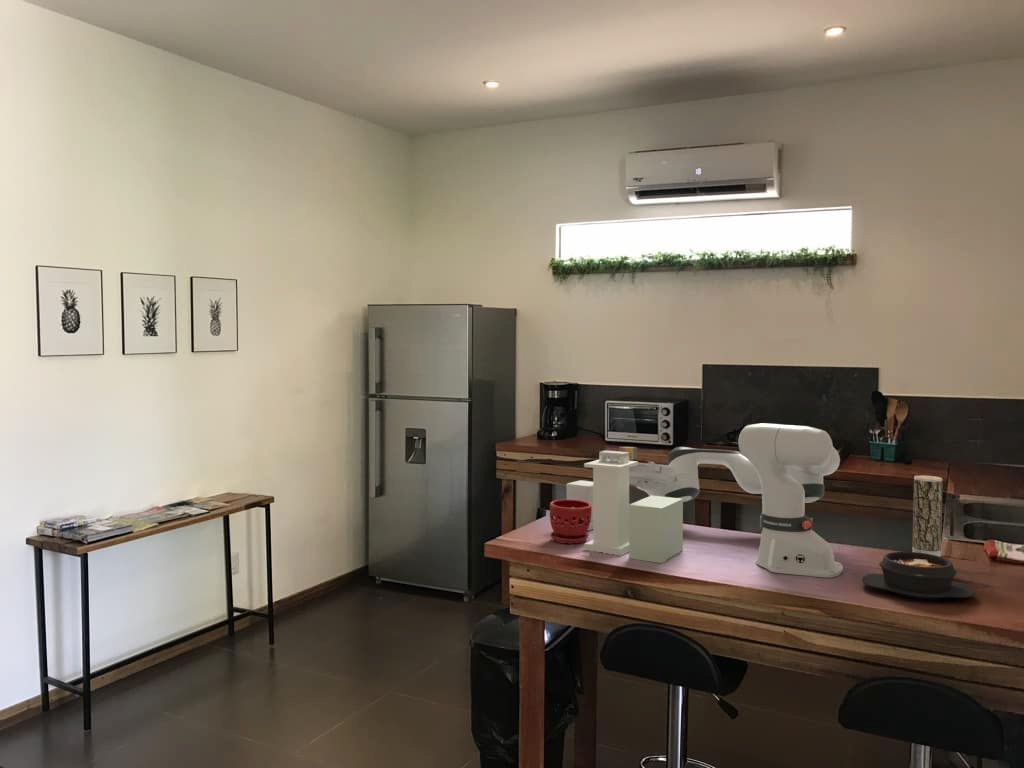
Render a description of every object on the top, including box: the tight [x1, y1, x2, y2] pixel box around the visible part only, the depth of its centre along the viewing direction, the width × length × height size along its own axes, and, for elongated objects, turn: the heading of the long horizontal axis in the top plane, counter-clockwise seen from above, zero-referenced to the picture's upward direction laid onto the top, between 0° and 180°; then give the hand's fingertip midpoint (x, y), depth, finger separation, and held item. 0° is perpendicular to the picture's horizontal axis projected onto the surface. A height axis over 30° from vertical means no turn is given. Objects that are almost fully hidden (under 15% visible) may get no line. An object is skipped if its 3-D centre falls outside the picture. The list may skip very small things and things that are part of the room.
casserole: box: [861, 551, 977, 600], centre depth 195 cm, size 25×19×8 cm
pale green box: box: [628, 495, 684, 564], centre depth 231 cm, size 10×16×16 cm, turn 147°
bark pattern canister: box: [912, 475, 943, 557], centre depth 214 cm, size 7×7×25 cm
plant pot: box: [549, 498, 592, 545], centre depth 248 cm, size 13×13×12 cm
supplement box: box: [565, 479, 593, 532], centre depth 267 cm, size 9×9×15 cm
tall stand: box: [583, 449, 639, 557], centre depth 238 cm, size 12×12×29 cm
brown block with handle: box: [608, 446, 638, 462], centre depth 243 cm, size 4×14×4 cm, turn 147°
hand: (636, 462), depth 254 cm, fingers open, 8 cm apart
